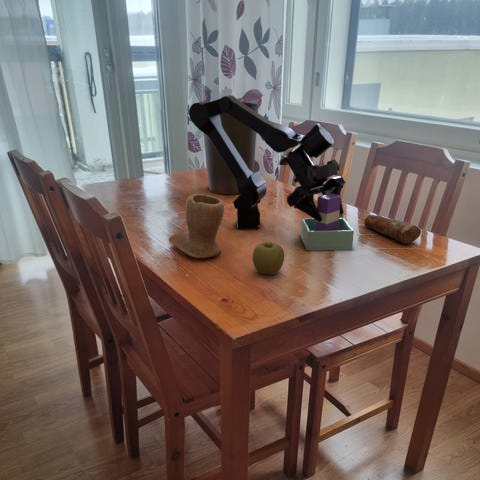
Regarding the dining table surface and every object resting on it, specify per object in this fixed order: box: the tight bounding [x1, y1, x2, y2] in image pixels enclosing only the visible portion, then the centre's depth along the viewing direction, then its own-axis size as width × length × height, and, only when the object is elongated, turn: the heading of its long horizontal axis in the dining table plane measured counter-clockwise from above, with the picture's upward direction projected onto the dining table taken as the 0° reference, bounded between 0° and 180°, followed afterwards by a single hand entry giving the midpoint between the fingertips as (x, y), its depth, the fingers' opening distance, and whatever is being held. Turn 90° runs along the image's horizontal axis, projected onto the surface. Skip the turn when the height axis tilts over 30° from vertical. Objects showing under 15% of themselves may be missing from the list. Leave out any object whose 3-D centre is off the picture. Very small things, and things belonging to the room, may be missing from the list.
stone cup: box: [168, 193, 225, 259], centre depth 123 cm, size 15×12×15 cm
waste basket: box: [202, 101, 260, 195], centre depth 176 cm, size 27×20×30 cm
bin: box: [300, 217, 355, 251], centre depth 131 cm, size 12×11×5 cm
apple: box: [251, 241, 285, 276], centre depth 113 cm, size 8×8×7 cm
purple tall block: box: [315, 193, 342, 231], centre depth 129 cm, size 4×5×12 cm, turn 132°
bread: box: [363, 214, 422, 244], centre depth 136 cm, size 6×19×6 cm, turn 25°
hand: (331, 217), depth 127 cm, fingers open, 9 cm apart
